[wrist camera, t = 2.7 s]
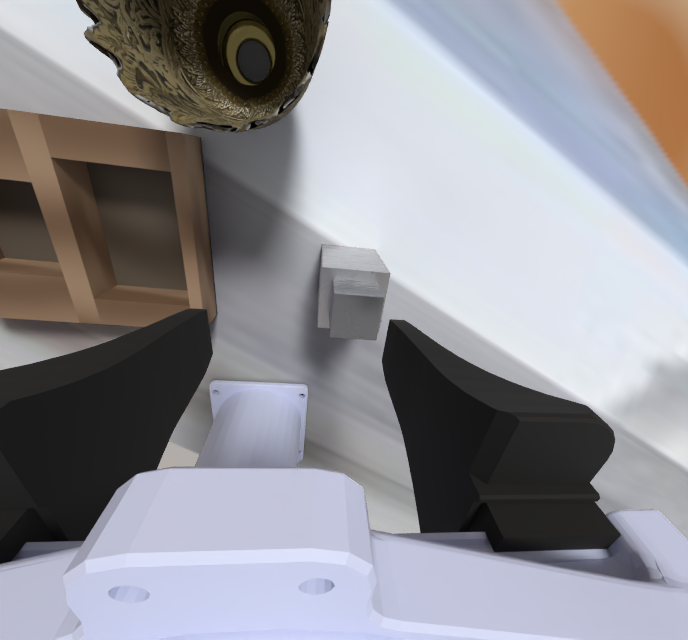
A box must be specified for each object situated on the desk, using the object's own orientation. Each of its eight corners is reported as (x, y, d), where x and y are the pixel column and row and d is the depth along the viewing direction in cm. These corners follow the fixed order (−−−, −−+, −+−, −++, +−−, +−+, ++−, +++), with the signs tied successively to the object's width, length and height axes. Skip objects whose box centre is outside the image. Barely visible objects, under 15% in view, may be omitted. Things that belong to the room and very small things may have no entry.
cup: (182, 131, 16) (73, 104, 9) (168, -67, 13) (-24, -359, 6) (317, 157, 17) (314, 151, 10) (337, -19, 14) (354, -217, 7)
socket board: (217, 313, 21) (205, 330, 19) (1, 298, 20) (-39, 315, 17) (200, 137, 16) (181, 133, 14) (-92, 97, 15) (-165, 85, 12)
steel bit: (366, 297, 21) (385, 350, 15) (318, 293, 21) (316, 346, 15) (375, 249, 20) (399, 286, 14) (322, 244, 19) (322, 280, 13)
